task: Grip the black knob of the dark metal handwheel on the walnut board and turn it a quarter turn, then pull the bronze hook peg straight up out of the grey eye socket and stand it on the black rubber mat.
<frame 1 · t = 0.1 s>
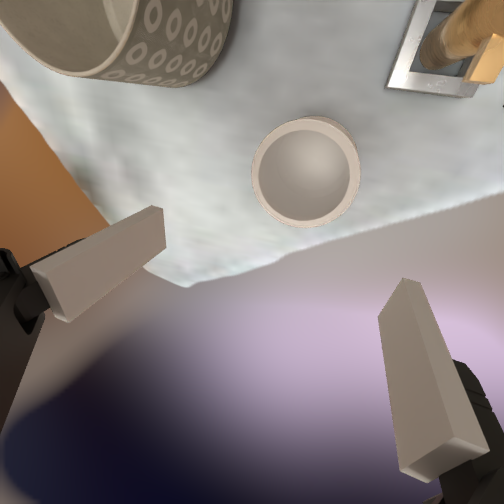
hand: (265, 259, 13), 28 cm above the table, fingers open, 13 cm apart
planter: (177, 3, 32), on the table
hook peg: (465, 44, 20), in the eye block
eye block: (441, 46, 26), on the table
jar: (317, 154, 35), on the table
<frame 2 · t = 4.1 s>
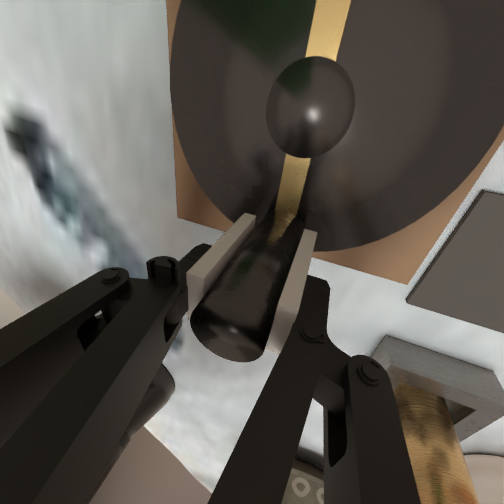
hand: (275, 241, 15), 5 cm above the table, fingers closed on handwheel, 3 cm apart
planter: (304, 470, 41), on the table
hook peg: (456, 494, 16), in the eye block
handwheel: (295, 113, 9), point 7 cm above the table, hinge at -90.0°, touching gripper
eye block: (412, 378, 23), on the table
jar: (493, 471, 26), on the table
wheel base: (314, 111, 14), on the table
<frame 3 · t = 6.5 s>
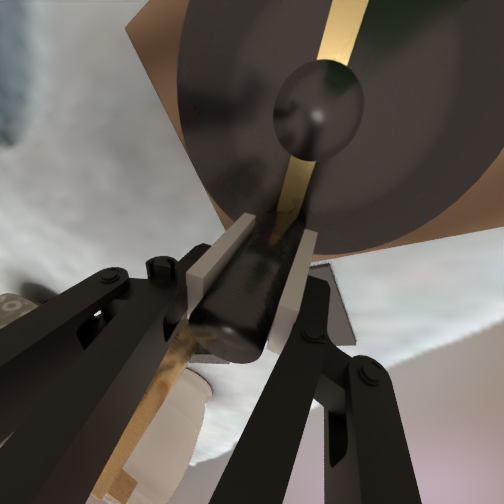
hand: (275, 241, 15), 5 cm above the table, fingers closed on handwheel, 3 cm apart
pad: (295, 310, 23), on the table
planter: (62, 322, 45), on the table
hook peg: (160, 385, 23), in the eye block
handwheel: (305, 117, 9), point 7 cm above the table, hinge at -36.2°, touching gripper
eye block: (197, 319, 29), on the table
jar: (190, 381, 39), on the table
wheel base: (321, 113, 14), on the table
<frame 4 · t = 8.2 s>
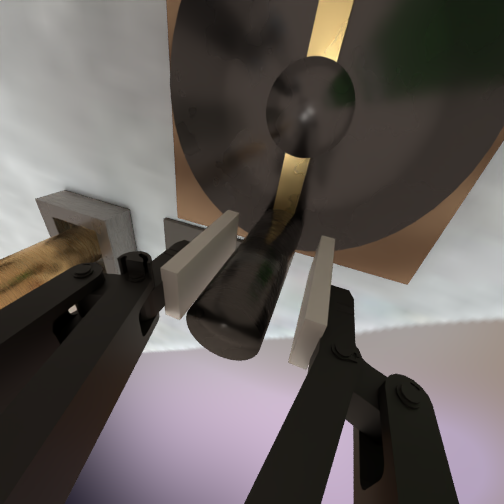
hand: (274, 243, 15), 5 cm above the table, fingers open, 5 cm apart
pad: (207, 268, 24), on the table
hook peg: (33, 283, 21), in the eye block
handwheel: (295, 113, 9), point 7 cm above the table, hinge at -1.4°
eye block: (104, 234, 27), on the table
wheel base: (314, 111, 14), on the table
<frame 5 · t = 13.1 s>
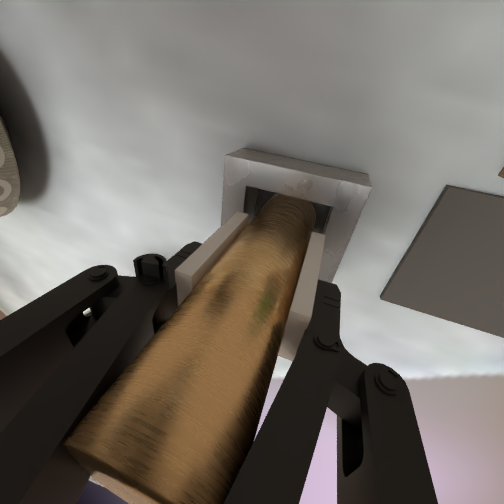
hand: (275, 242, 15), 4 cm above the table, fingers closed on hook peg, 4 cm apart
pad: (482, 268, 15), on the table
hook peg: (252, 295, 12), in the eye block, touching gripper
eye block: (288, 217, 18), on the table
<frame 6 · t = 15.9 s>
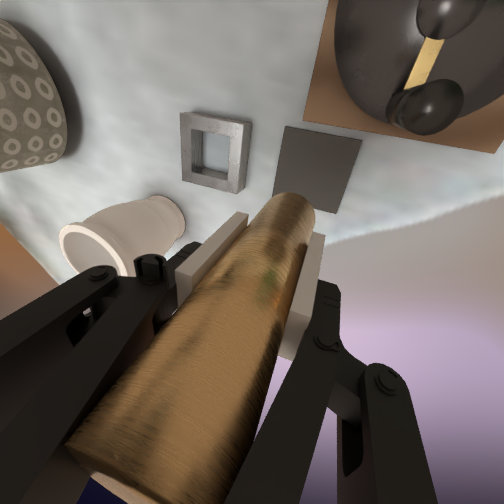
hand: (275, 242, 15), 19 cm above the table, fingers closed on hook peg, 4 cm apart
pad: (312, 172, 30), on the table
planter: (37, 98, 39), on the table
hook peg: (252, 296, 12), point 23 cm above the table, touching gripper
eye block: (219, 151, 33), on the table
jar: (165, 217, 42), on the table
wheel base: (439, 14, 20), on the table
when the fingers open (5 cm above the table, at t = 18.5 s): hook peg stays where it is, resting on pad.
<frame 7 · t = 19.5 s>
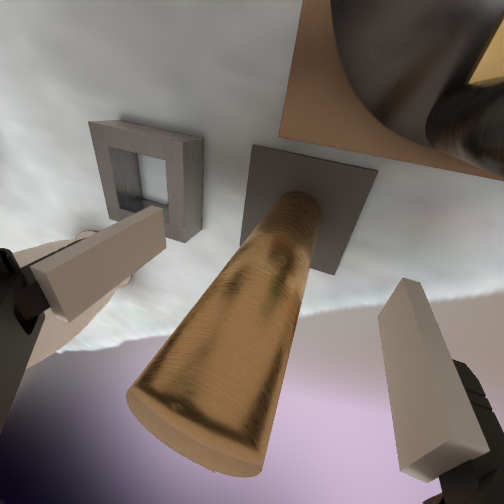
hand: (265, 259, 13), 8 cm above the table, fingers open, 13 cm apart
pad: (297, 213, 20), on the table
hook peg: (266, 284, 13), on the pad
eye block: (162, 178, 22), on the table
jar: (107, 257, 32), on the table
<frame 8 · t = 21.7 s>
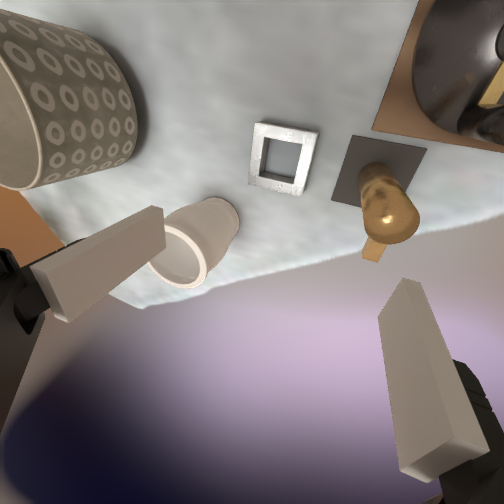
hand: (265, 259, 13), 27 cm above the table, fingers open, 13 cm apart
pad: (373, 176, 33), on the table
planter: (104, 107, 41), on the table
hook peg: (376, 203, 27), on the pad
eye block: (283, 157, 35), on the table
jar: (219, 217, 45), on the table
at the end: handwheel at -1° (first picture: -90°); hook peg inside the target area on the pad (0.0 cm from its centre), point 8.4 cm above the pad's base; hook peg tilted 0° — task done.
